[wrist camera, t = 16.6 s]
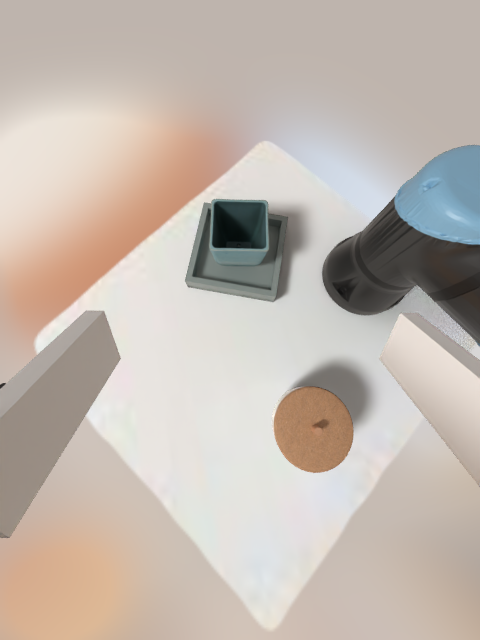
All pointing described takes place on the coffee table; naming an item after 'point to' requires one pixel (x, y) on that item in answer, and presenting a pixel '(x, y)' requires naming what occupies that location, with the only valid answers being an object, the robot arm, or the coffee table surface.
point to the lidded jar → (312, 428)
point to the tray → (237, 278)
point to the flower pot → (239, 232)
